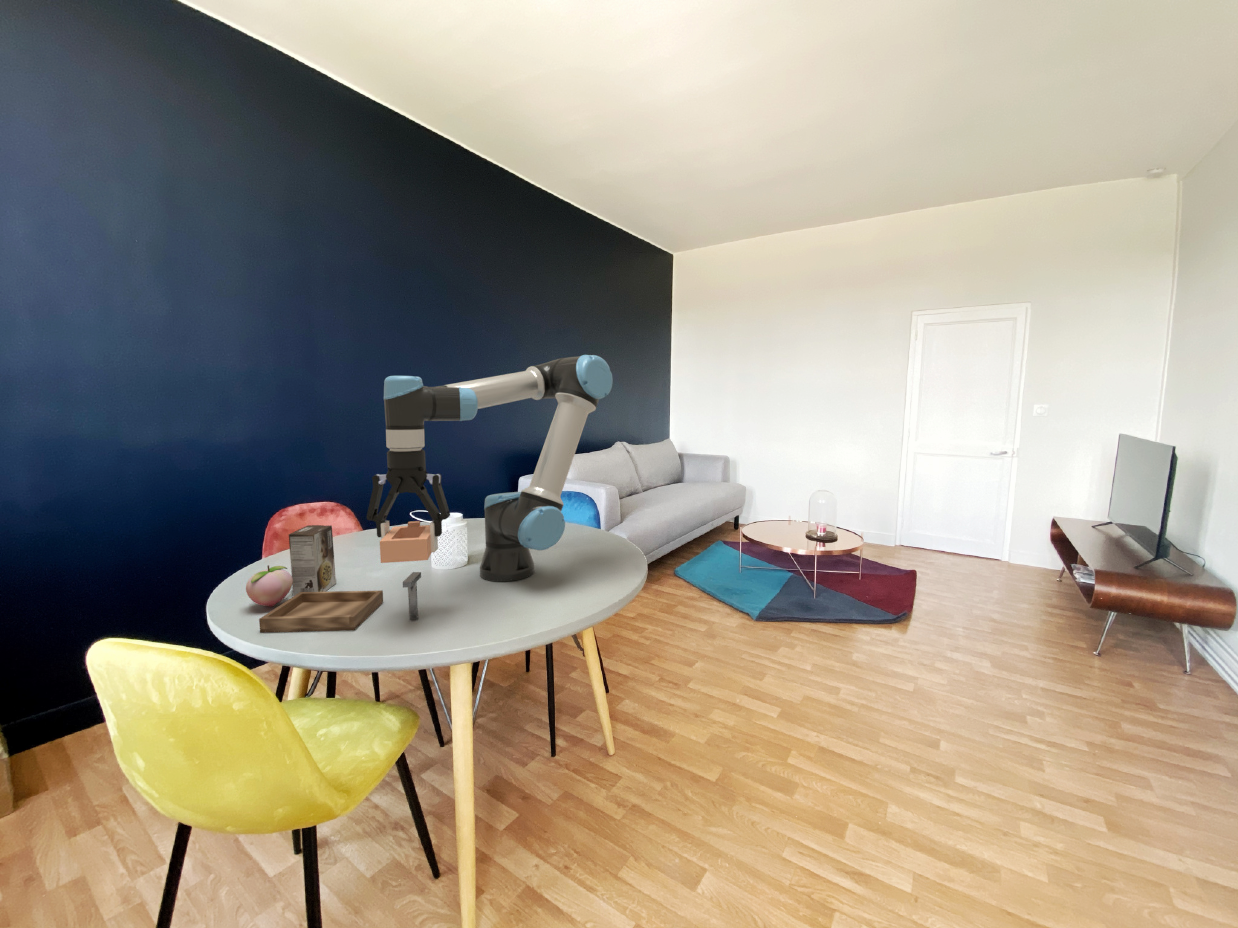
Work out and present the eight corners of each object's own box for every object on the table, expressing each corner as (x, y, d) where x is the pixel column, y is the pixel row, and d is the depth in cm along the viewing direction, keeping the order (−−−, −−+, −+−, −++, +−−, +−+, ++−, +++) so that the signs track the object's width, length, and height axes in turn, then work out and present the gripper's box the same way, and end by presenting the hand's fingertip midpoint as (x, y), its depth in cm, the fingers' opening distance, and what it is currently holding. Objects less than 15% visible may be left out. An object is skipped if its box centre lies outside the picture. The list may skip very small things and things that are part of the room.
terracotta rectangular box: (427, 560, 102) (426, 534, 101) (380, 562, 100) (379, 536, 99) (436, 543, 114) (435, 520, 114) (394, 545, 112) (393, 522, 112)
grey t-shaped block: (422, 612, 113) (421, 572, 111) (413, 625, 106) (411, 581, 105) (414, 613, 112) (412, 572, 111) (404, 625, 106) (402, 582, 105)
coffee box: (311, 584, 130) (307, 524, 128) (336, 583, 131) (333, 524, 129) (291, 597, 121) (287, 533, 119) (319, 596, 122) (314, 533, 120)
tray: (383, 602, 119) (382, 590, 118) (354, 630, 104) (353, 616, 103) (301, 604, 117) (300, 592, 117) (260, 632, 102) (259, 618, 102)
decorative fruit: (267, 598, 120) (264, 558, 119) (300, 599, 120) (297, 559, 119) (237, 614, 111) (233, 571, 110) (272, 615, 111) (269, 572, 110)
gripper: (463, 447, 110) (466, 545, 112) (359, 447, 108) (365, 547, 110) (454, 450, 102) (458, 555, 105) (343, 450, 100) (350, 557, 103)
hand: (410, 550), depth 108 cm, fingers closed on terracotta rectangular box, 9 cm apart
